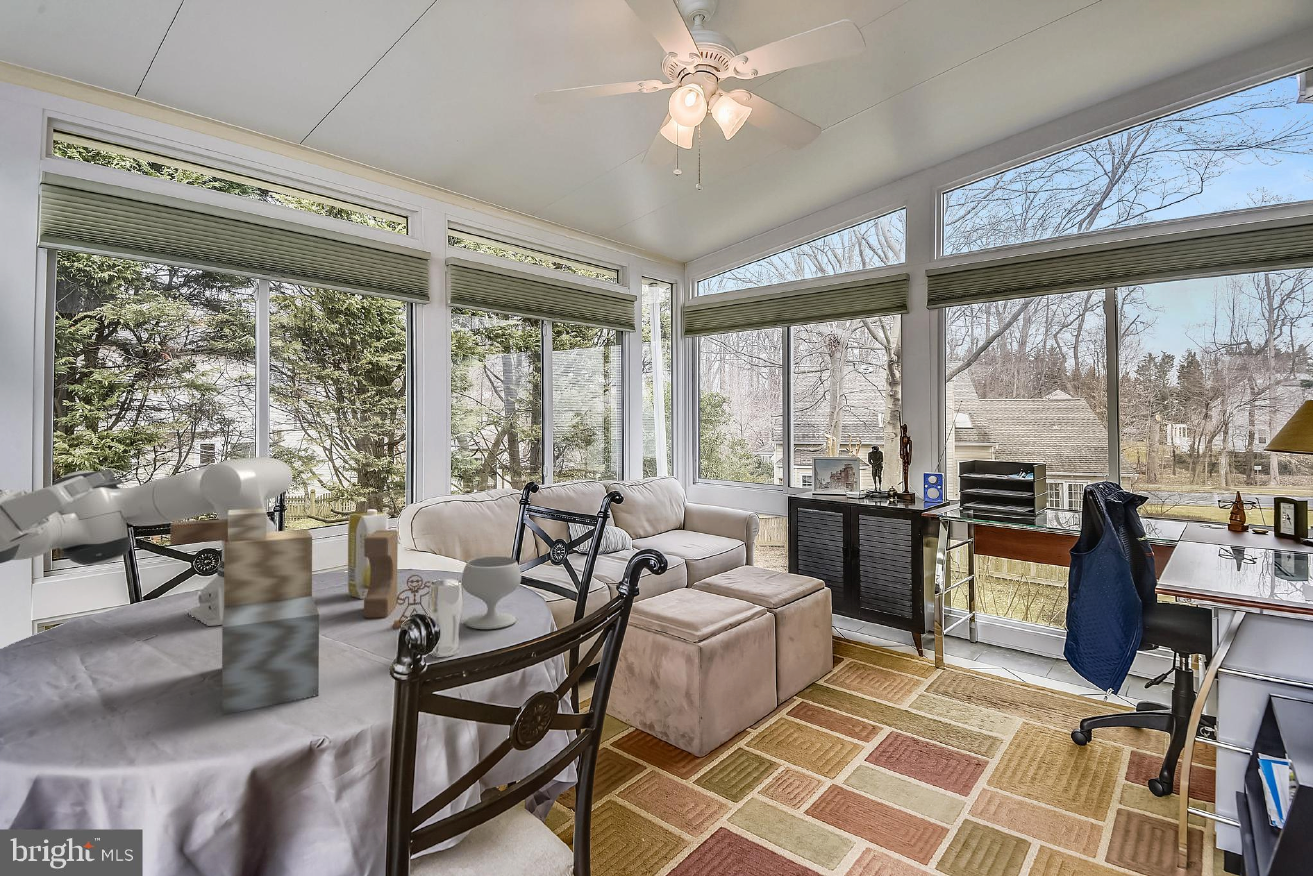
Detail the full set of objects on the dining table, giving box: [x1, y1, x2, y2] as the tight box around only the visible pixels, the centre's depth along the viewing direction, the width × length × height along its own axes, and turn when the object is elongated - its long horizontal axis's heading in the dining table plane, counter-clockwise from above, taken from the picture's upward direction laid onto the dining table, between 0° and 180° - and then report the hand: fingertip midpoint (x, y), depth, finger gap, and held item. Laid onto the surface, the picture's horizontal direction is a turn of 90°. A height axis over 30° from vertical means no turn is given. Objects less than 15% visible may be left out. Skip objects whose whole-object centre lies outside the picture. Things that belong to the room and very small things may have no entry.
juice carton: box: [347, 508, 389, 600], centre depth 173 cm, size 9×8×24 cm
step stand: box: [221, 529, 320, 716], centre depth 115 cm, size 14×24×26 cm, turn 34°
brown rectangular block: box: [169, 507, 268, 546], centre depth 116 cm, size 14×7×5 cm, turn 124°
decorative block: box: [363, 529, 399, 619], centre depth 158 cm, size 11×6×20 cm, turn 9°
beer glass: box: [427, 577, 464, 658], centre depth 131 cm, size 7×7×15 cm
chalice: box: [461, 556, 522, 630], centre depth 151 cm, size 14×14×15 cm
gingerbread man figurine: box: [393, 574, 431, 630], centre depth 149 cm, size 9×4×12 cm, turn 115°
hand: (107, 473), depth 109 cm, fingers open, 8 cm apart
